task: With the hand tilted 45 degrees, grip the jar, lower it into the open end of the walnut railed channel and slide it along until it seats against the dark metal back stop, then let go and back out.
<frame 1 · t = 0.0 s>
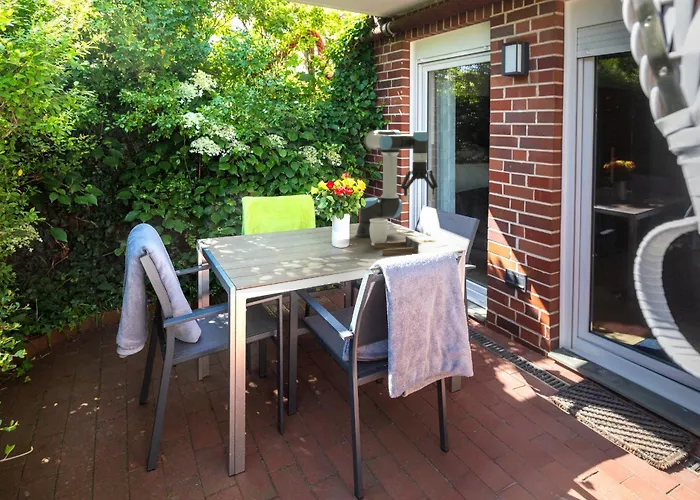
hand: (418, 201, 278), 28 cm above the table, tool pointing down, fingers open, 13 cm apart
jar: (378, 245, 302), on the table
channel: (395, 250, 288), on the table
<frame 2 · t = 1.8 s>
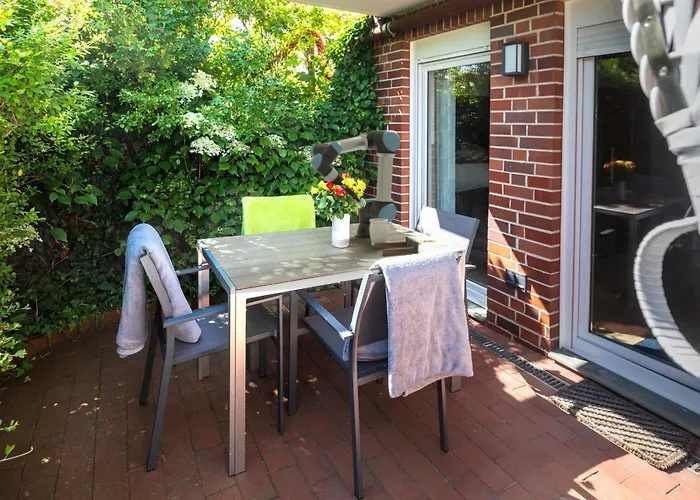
hand: (359, 204, 292), 25 cm above the table, tool tilted 45°, fingers open, 13 cm apart
nothing on the table moved.
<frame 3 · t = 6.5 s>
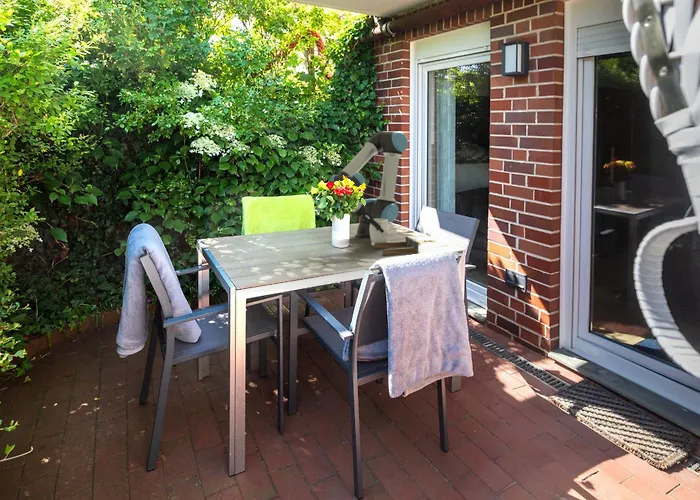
hand: (383, 233, 301), 7 cm above the table, tool tilted 45°, fingers closed on jar, 10 cm apart
jar: (378, 245, 302), on the table, touching gripper
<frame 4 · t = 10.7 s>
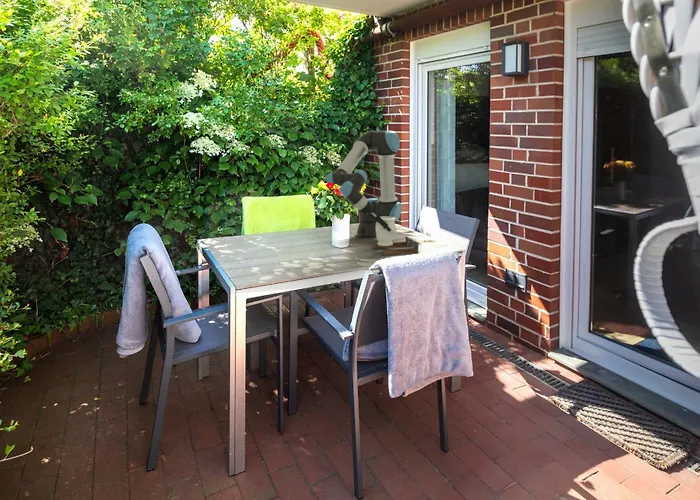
hand: (390, 232, 284), 10 cm above the table, tool tilted 45°, fingers closed on jar, 10 cm apart
jar: (385, 244, 285), point 4 cm above the table, touching gripper
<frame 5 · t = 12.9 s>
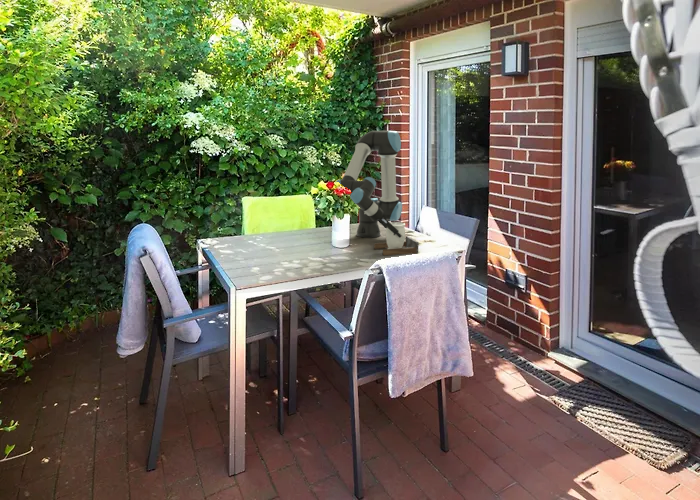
hand: (400, 238, 287), 7 cm above the table, tool tilted 45°, fingers closed on jar, 10 cm apart
jar: (395, 250, 288), resting in channel, touching gripper
when the fingers open (7 cm above the table, at t = 14.9 s): jar stays where it is, resting in channel.
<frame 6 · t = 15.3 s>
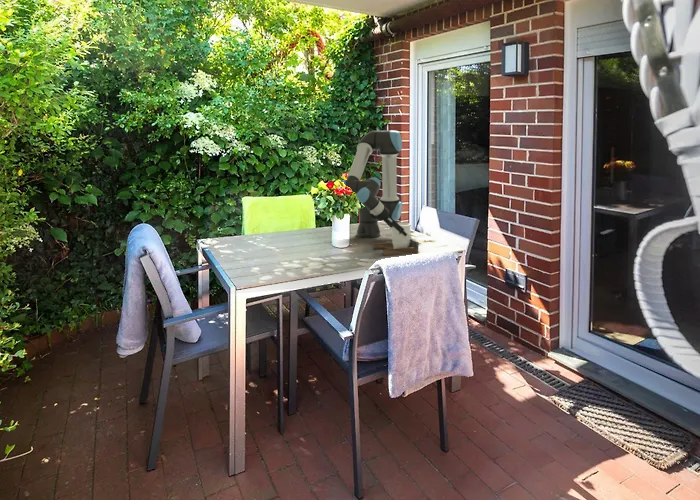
hand: (405, 236, 288), 8 cm above the table, tool tilted 45°, fingers open, 13 cm apart
jar: (400, 250, 289), resting in channel
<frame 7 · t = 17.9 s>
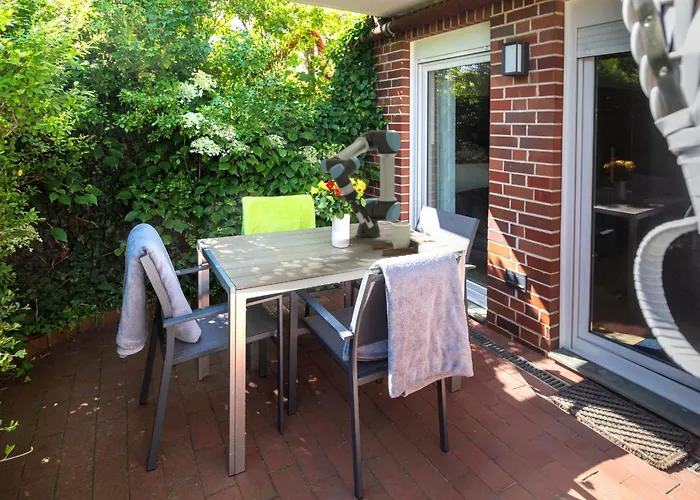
hand: (367, 224, 284), 15 cm above the table, tool tilted 30°, fingers open, 13 cm apart
nothing on the table moved.
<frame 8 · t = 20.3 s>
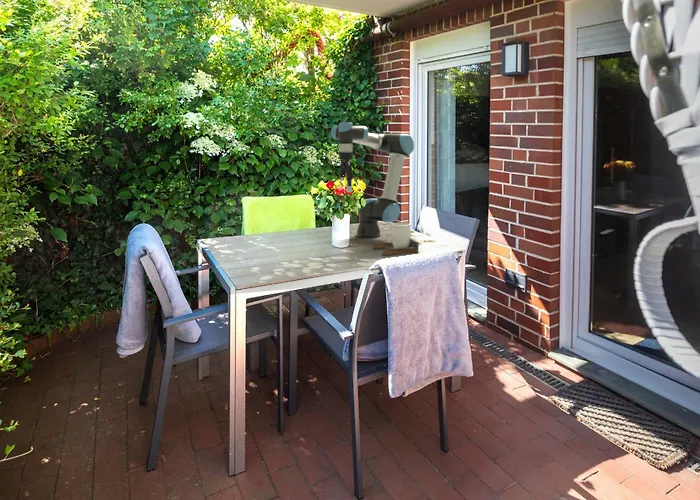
hand: (346, 190, 286), 33 cm above the table, tool pointing down, fingers open, 13 cm apart
nothing on the table moved.
at the end: jar 0.2 cm from the target spot on the channel, point 0.0 cm above the channel's base; jar tilted 0°; the gripper is holding nothing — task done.
